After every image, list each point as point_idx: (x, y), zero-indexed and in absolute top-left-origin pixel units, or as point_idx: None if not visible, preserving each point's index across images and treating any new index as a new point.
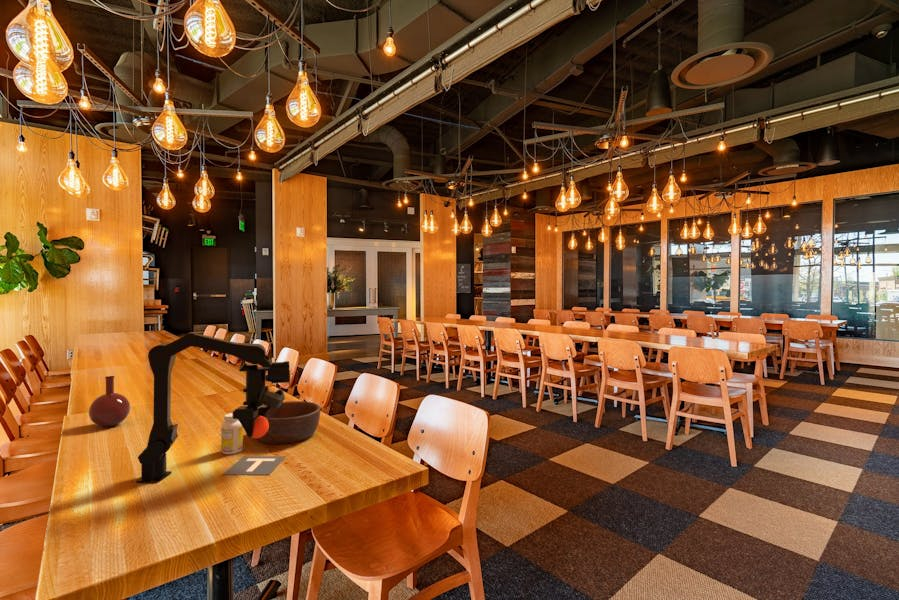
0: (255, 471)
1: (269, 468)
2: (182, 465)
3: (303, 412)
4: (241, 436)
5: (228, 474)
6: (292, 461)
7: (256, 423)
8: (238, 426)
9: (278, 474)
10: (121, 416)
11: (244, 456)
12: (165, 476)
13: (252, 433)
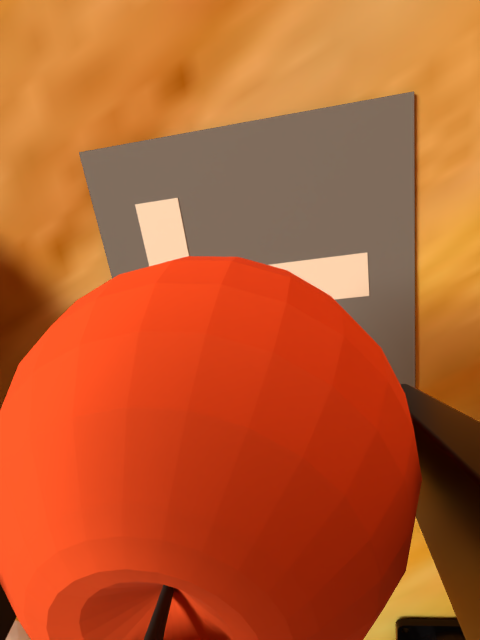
0: (365, 229)
1: (307, 154)
2: None
3: None
4: None
5: (414, 373)
6: (142, 43)
7: (385, 481)
8: (14, 634)
9: (398, 17)
10: None
11: None
12: (448, 622)
13: (424, 400)
